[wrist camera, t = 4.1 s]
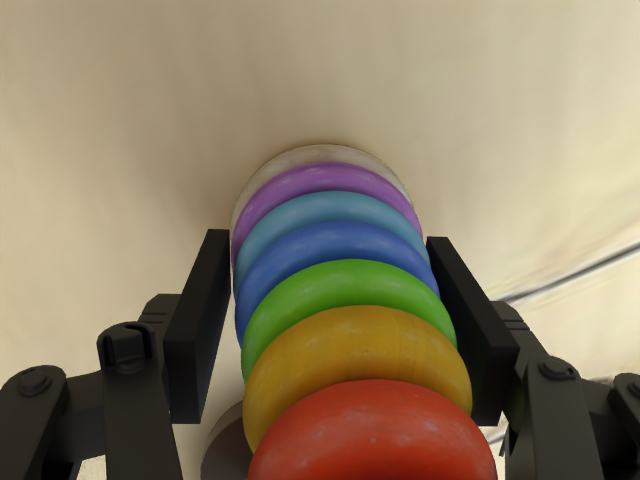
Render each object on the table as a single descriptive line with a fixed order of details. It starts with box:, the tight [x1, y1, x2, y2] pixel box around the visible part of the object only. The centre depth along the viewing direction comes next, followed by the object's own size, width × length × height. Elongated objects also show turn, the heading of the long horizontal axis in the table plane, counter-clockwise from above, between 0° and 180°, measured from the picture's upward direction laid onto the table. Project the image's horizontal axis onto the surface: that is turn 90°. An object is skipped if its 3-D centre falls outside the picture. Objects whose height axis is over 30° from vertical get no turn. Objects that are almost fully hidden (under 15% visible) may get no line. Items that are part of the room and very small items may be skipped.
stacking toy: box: [231, 144, 498, 480], centre depth 13 cm, size 8×8×19 cm
